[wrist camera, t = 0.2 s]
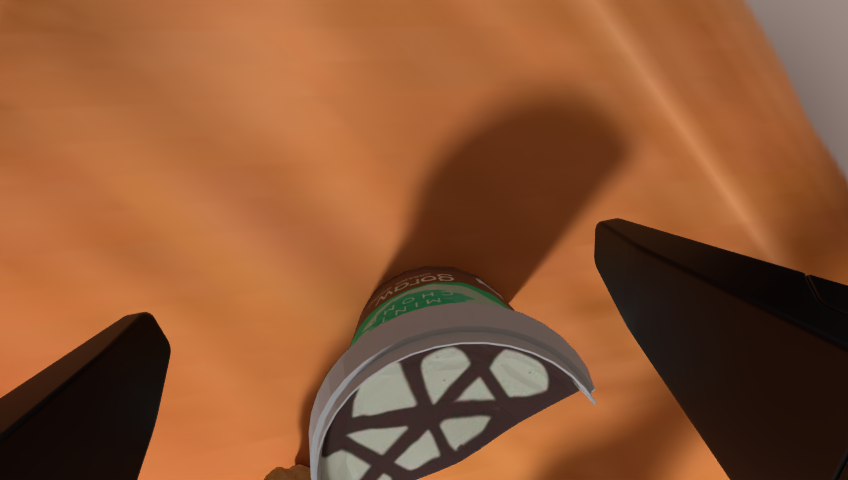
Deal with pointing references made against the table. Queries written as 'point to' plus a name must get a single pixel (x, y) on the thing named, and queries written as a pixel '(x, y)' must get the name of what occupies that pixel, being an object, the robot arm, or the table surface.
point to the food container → (435, 379)
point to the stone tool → (290, 473)
